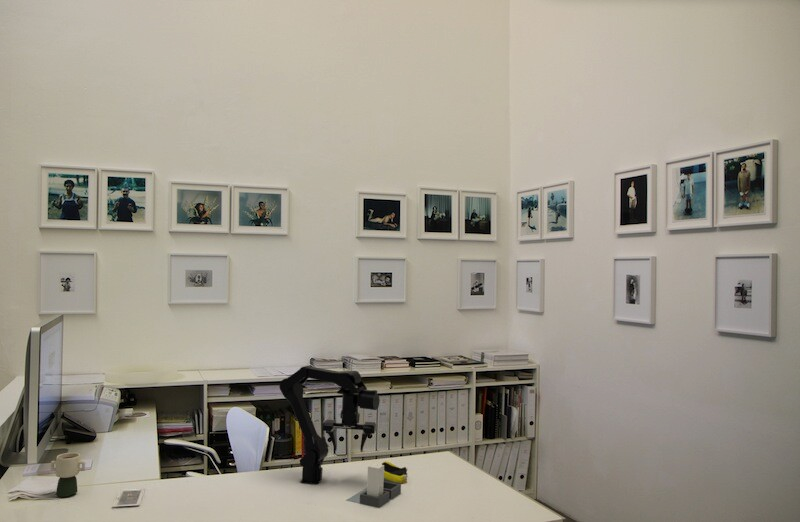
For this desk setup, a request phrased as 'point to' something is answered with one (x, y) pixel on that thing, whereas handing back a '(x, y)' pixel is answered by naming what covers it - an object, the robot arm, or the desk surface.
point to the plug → (375, 480)
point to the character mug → (67, 473)
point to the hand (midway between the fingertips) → (348, 450)
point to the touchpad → (129, 497)
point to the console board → (388, 494)
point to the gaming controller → (394, 473)
